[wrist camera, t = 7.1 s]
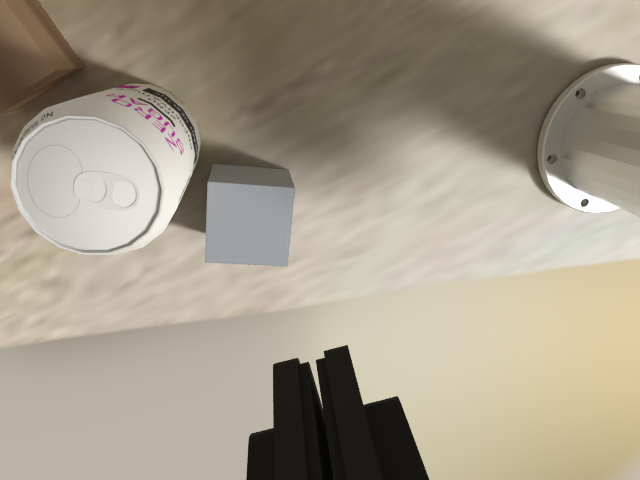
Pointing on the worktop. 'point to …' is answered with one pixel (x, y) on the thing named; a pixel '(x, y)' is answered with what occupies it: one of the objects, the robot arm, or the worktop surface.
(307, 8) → the worktop surface
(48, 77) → the walnut block
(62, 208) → the supplement can
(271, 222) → the slate grey block
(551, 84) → the worktop surface
